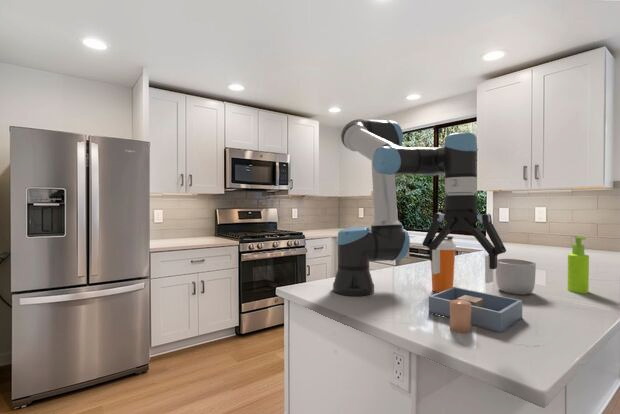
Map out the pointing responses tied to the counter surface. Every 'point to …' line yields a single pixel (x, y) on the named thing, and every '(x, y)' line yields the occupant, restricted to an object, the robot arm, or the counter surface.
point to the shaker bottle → (445, 266)
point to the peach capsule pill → (460, 316)
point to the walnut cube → (472, 300)
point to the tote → (493, 314)
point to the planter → (515, 276)
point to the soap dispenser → (578, 268)
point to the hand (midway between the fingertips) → (461, 277)
